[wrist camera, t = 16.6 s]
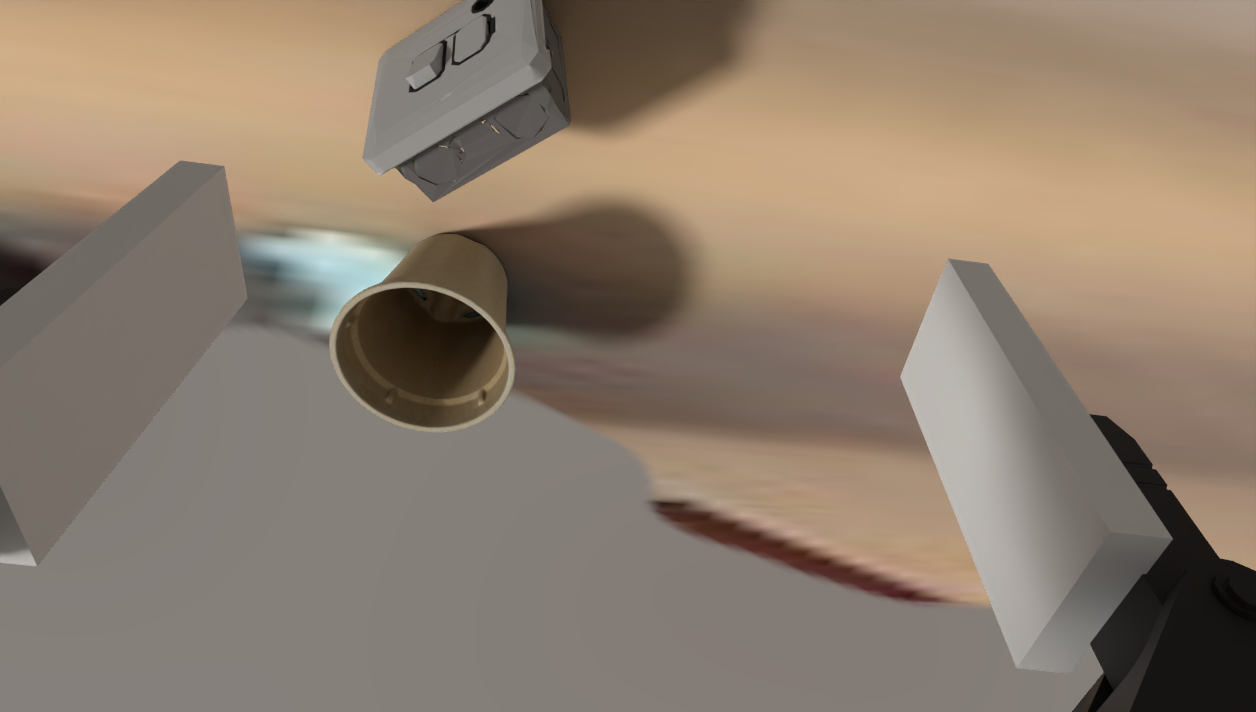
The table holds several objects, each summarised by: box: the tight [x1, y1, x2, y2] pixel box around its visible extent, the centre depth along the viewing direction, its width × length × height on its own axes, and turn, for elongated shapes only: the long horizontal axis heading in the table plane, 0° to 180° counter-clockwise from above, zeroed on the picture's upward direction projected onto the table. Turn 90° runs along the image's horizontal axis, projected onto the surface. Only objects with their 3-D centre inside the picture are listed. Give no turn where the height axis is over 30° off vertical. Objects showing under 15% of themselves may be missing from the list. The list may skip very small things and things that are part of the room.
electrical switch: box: [363, 0, 571, 202], centre depth 38 cm, size 9×5×9 cm, turn 120°
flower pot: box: [330, 234, 515, 432], centre depth 45 cm, size 9×9×9 cm
